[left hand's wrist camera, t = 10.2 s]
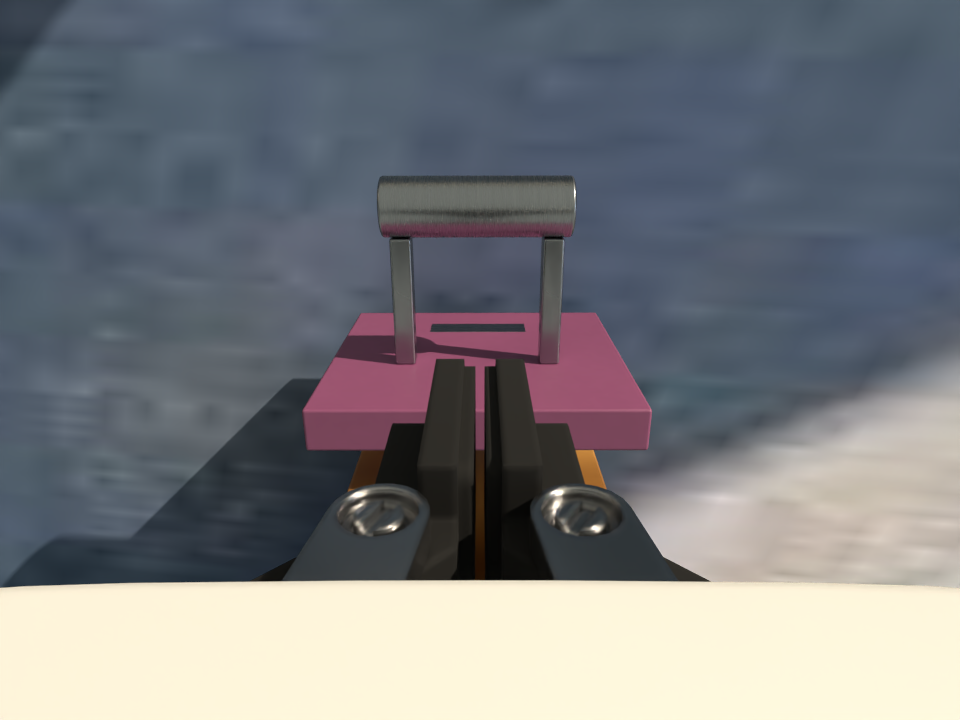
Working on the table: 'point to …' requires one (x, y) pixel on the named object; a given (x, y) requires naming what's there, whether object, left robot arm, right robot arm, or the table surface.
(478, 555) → the drawer
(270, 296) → the table surface
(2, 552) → the table surface
